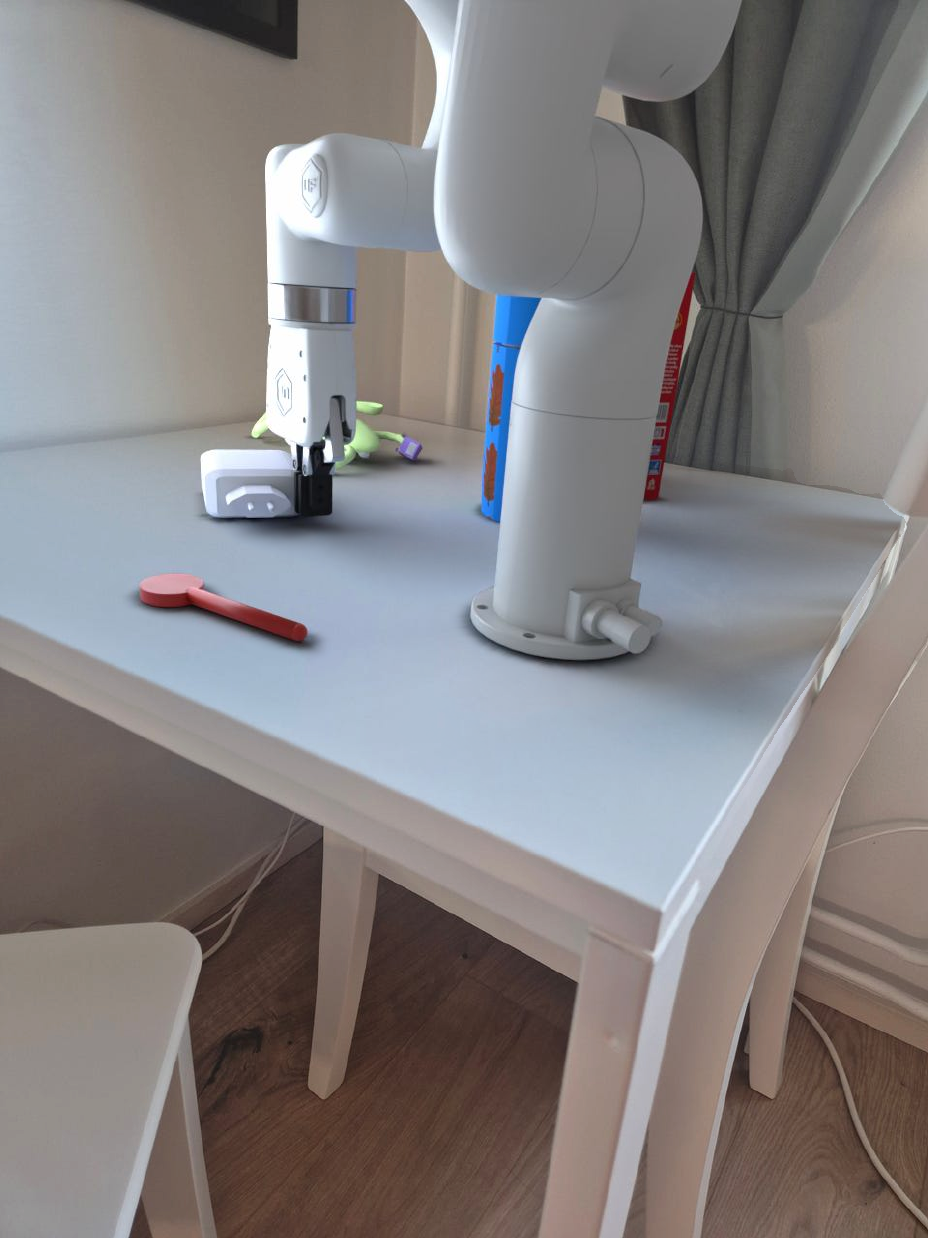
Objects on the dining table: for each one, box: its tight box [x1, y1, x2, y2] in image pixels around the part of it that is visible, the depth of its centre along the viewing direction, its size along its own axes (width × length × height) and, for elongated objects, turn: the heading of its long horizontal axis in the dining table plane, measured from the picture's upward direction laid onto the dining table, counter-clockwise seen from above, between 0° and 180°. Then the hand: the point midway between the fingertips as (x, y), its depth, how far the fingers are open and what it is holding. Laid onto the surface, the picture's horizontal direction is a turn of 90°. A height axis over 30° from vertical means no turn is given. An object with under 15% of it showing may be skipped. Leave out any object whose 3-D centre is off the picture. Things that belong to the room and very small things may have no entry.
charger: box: [200, 448, 299, 519], centre depth 80 cm, size 5×9×15 cm
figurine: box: [251, 400, 423, 471], centre depth 110 cm, size 18×27×6 cm
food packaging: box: [643, 272, 697, 501], centre depth 99 cm, size 15×5×25 cm, turn 26°
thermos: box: [480, 294, 541, 523], centre depth 84 cm, size 11×11×25 cm
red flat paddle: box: [139, 572, 308, 642], centre depth 58 cm, size 15×4×1 cm, turn 58°
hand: (313, 513), depth 79 cm, fingers closed
